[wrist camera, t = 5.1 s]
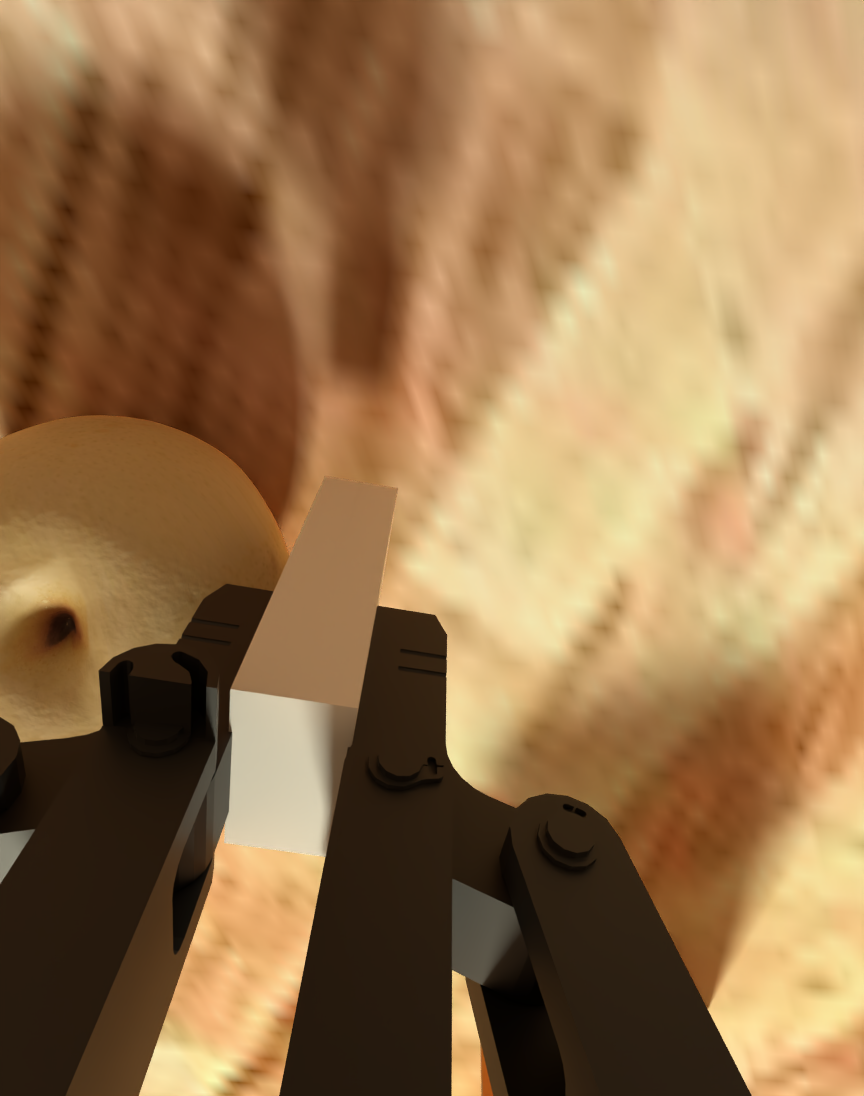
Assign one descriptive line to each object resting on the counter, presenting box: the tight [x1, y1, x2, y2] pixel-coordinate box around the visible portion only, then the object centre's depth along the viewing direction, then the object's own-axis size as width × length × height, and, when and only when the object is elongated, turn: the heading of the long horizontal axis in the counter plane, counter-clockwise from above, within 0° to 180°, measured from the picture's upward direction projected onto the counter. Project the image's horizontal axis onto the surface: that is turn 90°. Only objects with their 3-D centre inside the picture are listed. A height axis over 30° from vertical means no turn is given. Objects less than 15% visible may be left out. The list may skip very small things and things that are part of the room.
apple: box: [0, 415, 289, 742], centre depth 15 cm, size 8×8×8 cm
